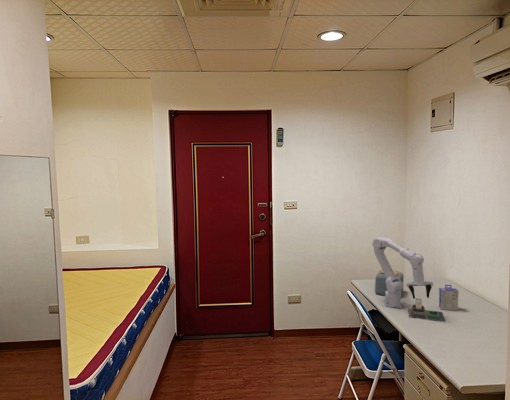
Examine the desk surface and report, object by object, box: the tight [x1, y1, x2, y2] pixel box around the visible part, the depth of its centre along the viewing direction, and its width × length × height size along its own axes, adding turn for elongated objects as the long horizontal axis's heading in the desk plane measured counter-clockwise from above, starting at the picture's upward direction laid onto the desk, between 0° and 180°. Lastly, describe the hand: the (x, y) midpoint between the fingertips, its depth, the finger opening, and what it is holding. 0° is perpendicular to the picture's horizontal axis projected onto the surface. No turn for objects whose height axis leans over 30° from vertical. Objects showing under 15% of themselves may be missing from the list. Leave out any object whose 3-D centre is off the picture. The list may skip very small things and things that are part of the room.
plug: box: [415, 297, 423, 309], centre depth 212 cm, size 3×4×6 cm
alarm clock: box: [374, 269, 405, 296], centre depth 247 cm, size 16×16×16 cm
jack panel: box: [407, 304, 446, 323], centre depth 211 cm, size 19×13×4 cm
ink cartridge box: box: [438, 284, 459, 311], centre depth 220 cm, size 10×6×14 cm, turn 78°
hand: (420, 298), depth 212 cm, fingers open, 7 cm apart
